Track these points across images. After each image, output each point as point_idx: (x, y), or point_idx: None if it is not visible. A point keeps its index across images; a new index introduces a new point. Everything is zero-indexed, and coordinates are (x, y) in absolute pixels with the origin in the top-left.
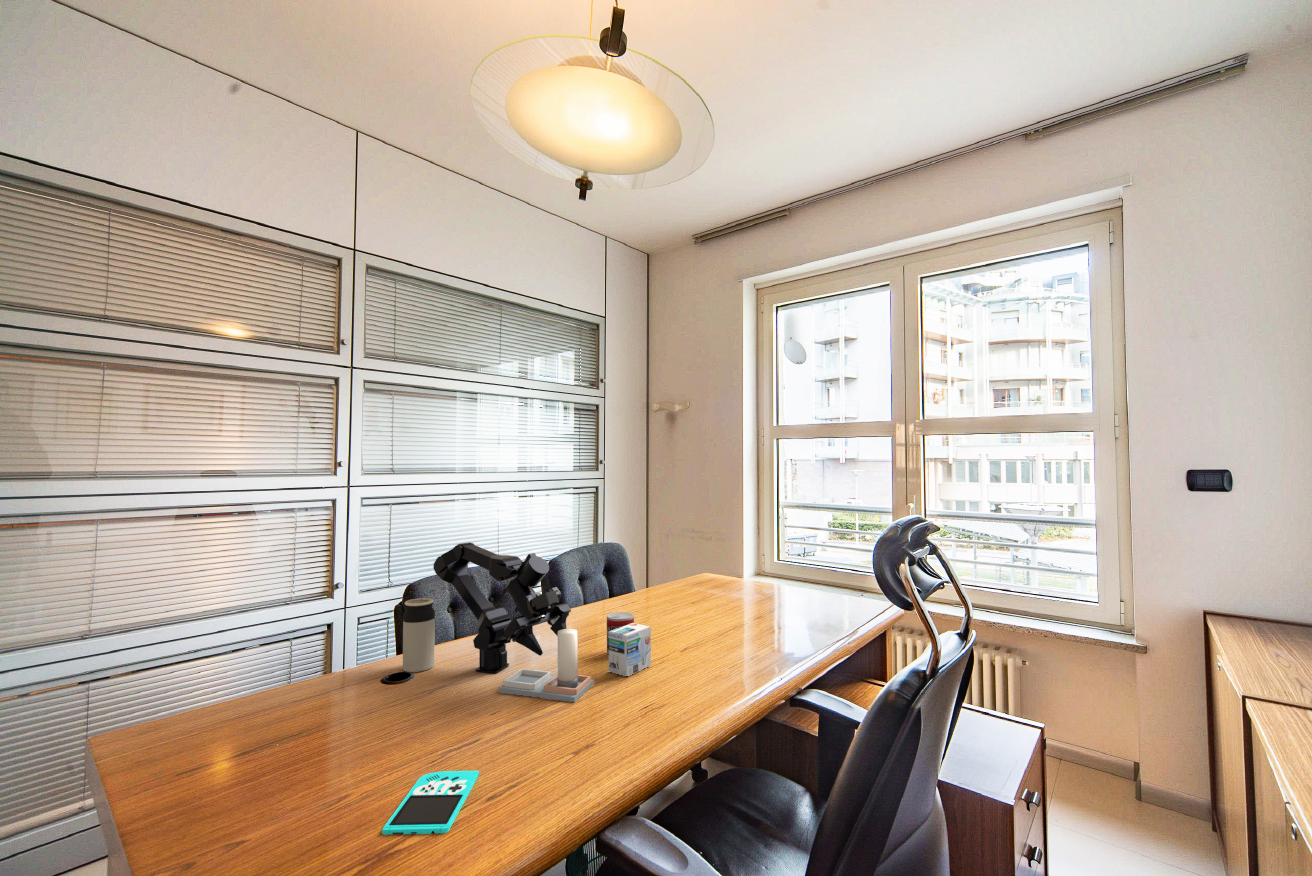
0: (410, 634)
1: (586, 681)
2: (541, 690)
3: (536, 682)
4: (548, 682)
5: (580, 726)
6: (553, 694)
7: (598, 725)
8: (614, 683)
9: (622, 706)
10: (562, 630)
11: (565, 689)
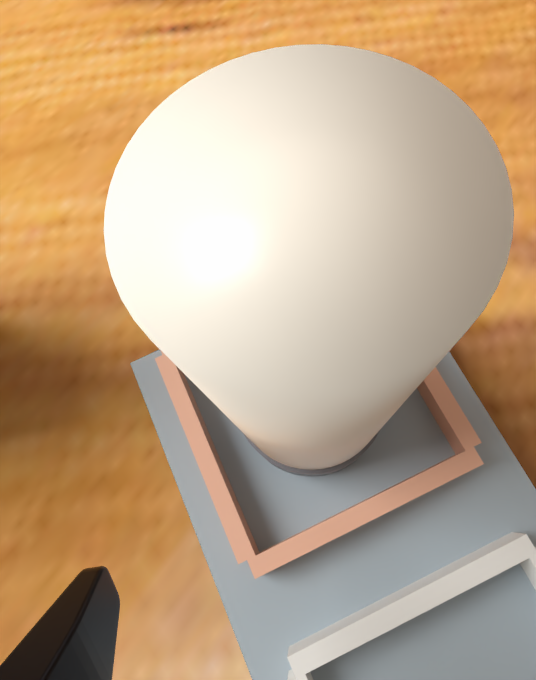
0: None
1: None
2: (485, 475)
3: (499, 556)
4: (428, 480)
5: (507, 60)
6: (455, 363)
7: (441, 26)
8: (59, 301)
9: None
10: (325, 335)
11: None
